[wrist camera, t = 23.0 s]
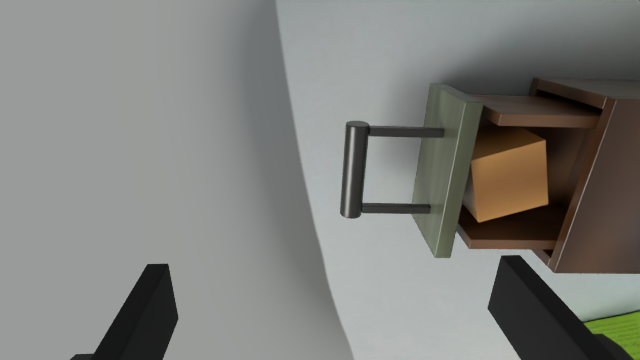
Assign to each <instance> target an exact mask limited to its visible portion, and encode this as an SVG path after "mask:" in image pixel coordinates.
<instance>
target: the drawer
mask: <svg viewBox="0 0 640 360" xmlns="http://www.w3.org/2000/svg"><path fill="white" fill-rule="evenodd" d="M602 111H603V109H601V108H598V107H595V106H591V105H588V104H585V103H581V102H578V101H575V100H572V99H568V98H565V97H536V96H503V95H470V94H465V93H463V92H461V91H458V90H456V89H454V88H452V87H450V86H448V85H446V84H433V83H431V84H430V89H429V95H428V102H427V108H426V115H425V121H424V127H397V126H369V124H368V123H366V122H362V121H349V122H347V123H346V131H345V146H344V161H343V176H342V191H341V206H340V214H341V215H342V216H343V217H346V218H358V217H360V215H361V211H362V213H394V214H411V215H412V217H413V219H414V220H415V222H416V224H417V226H418V228H419V230H420V231H421V233H422V235H423V237H424V239H425V241H426V243H427V244H428V246H429V248H430V250H431V252H432V254H433V255H434V257H435V258H450V257H451V252H452V247H453V243H454V238H455V233H456V231H457V232H458V234H459V235H460V237H461V238H462V239H463V241H464V242H465V244H466V245H467V247H468V248H469V249H554V248H555V245H556V242H557V239H558V237H559V234H560V231H561V228H562V225H563V222H564V219H565V216H566V214H567V211H568V208H569V205H570V202H571V199H572V196H573V194H574V191H575V188H576V185H577V182H578V179H579V176H580V174H581V171H582V168H583V165H584V162H585V159H586V156H587V154H588V151H589V148H590V145H591V142H592V139H593V136H594V134H595V131H596V128H597V125H598V122H599V119H600V116H601V113H602ZM494 124H497V125H498V126H519V127H521V128H523V129H525V130H527V131H529V132H531V133H533V134H535V135H537V136H539V137H541V138H543V139H545V140H546V158H547V183H548V204H547V205H543V206H539V207H536V208H532V209H528V210H524V211H520V212H517V213H513V214H509V215H505V216H502V217H498V218H494V219H490V220H486V221H483V222H478V221H477V220H476V219H475V217H474V216H473V215H472V214H471V213H470V212H469V210H468V209H467V208H466V207H465V206H464V205H463V203H462V201H463V196H464V192H465V187H466V183H467V178H468V173H469V169H470V164H471V159H472V155H473V150H474V146H475V141H476V136H477V132H478V129H480V128H483V127H487V126H490V125H494ZM368 136H383V137H422V141H421V147H420V154H419V160H418V167H417V173H416V180H415V186H414V193H413V199H412V204H395V203H362V200H363V189H364V179H365V168H366V157H367V146H368Z"/></svg>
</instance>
